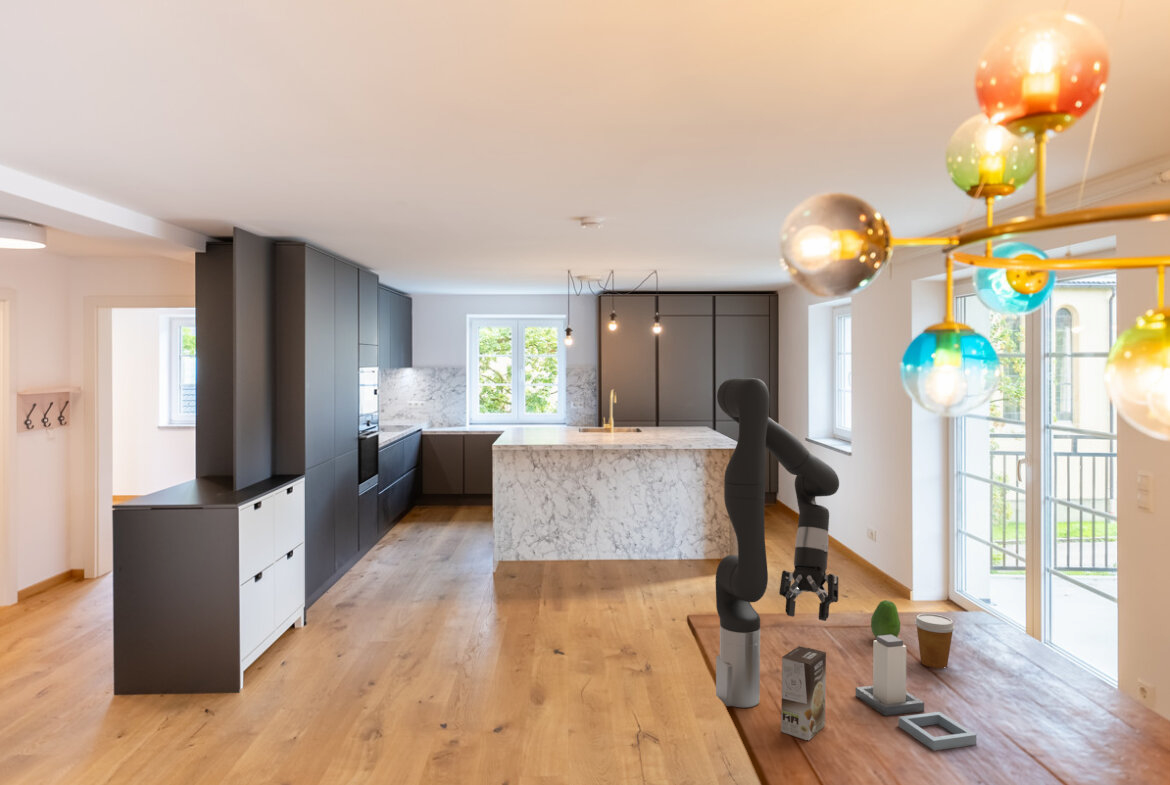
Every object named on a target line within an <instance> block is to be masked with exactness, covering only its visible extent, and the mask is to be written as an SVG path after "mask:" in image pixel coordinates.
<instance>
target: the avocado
mask: <svg viewBox="0 0 1170 785" xmlns="http://www.w3.org/2000/svg"><path fill="white" fill-rule="evenodd" d="M870 619H871V620H870V627H871V632H872V634H873V636H874V637H875V639H876V640H877V636H882V635H893V636H895V637H897V638H899V637H898V636H899V635H900V632H901V620H900V616H899V612H898V608H897V605H896V604H895V603H894V602H893V601H890V600H887V599H886V600H882V601H880V602H879V603H878V604H877V606H876V608H875V609H874V610H873V613H872V615H871V618H870Z"/></svg>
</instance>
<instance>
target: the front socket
mask: <svg viewBox="0 0 1170 785" xmlns="http://www.w3.org/2000/svg"><path fill="white" fill-rule="evenodd" d="M932 725H939V726H941V727H943V728H945V729H946V730H947V731H949V732H951V733H952V734H947V735H946V734H945V735H941V736H933V735H932V734H930V733H929V732H928V731H926V730H924V729H923V728H922V727H925V726H932ZM898 727H899V728H901V730H903V731H905V732H906V733H908V735H911V736H912V737H914V739H917V740H918V741H919V742H921V743H922V744H923V745H925V746H926V747H928V748H929V749H931V750H932V751H941V750H947V749H954V748H955V749H956V748H961V747H967V746H975V745H977V734H976V733H974V732H973V731H971V730H970V729H968V728H967V727H965V726H963V725H962V724H960V723H958V722H956V721H955V720H954V719H952V718H950V717H949V716H947V715H946V714H944V713H942V712H941V711H934V712H927V713H926V712H925V713H918V714H911V715H903V716H898Z"/></svg>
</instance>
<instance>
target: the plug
mask: <svg viewBox="0 0 1170 785" xmlns="http://www.w3.org/2000/svg"><path fill="white" fill-rule="evenodd" d="M872 643H873V644H872V645H873V647H872V648H873V650H872V652H873V654H872V657H873V660H872V686H873V696H874V697H876V698H877V699H879V700H880V701H882V702H883V703H885V704H892V703H900V702H906V691H907V646H906V645H905V644H904V640H902V639H901V638H899V637H895V636H893V635H882V636H877V639H876V640H873V642H872Z"/></svg>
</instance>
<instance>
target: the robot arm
mask: <svg viewBox="0 0 1170 785" xmlns="http://www.w3.org/2000/svg"><path fill="white" fill-rule="evenodd" d="M768 388H769V387H768V386H767V385H766V383H765V382H764V381H763V380H761V379H759V378H757V377H756V378H753V377H738V378H736V377H735V378H730V379H726V380H724V381H723V382H722V383H721V384H720V386H719V387H718V390H717V394H716V396H717V397H716V400H717V404H718V406H719V408H720V410H722V412H723V413H724V414H726V415H727V416H728V417H729V418H731V419H732V420H733V421H734V422H736V423H737V424H738V439H737V443H736V446H735V448H734V451H733V453H732V455H731V456H730V459H729V461H728V463H727V465H726V468H725V472H724V481H723V484H724V486H723V487H724V490H723V498H724V505H725V509H726V512H727V514H728V517H729V520H730V522H731V525H732V527H733V530H734V533H735V536H736V540H737V542H736V543H737V555H736V554H730V555H727V556H724V557H722V559H721V560H720V562H719V563H718V565H717V567H716V572H715V600H716V601H715V603H716V611H717V614H718V617H719V654H718V655H716V657H715V658H716V659H715V663H716V664H715V665H716V666H715V669H716V670H715V696H716V697H718V699H719V700H720V701H721V702H722V703H723V704H724V705H725V706H726V707H736V708H753V707H755V706H757V705H758V704H759V703H760V694H761V693H760V692H761V691H760V690H761V689H760V688H761V687H760V686H761V685H760V684H761V683H760V682H761V681H760V678H761V675H760V673H761V671H760V670H761V669H760V668H761V663H760V662H761V617H760V615H759V613H758V611H756V610H755V608H754V607H753V605H752V604H751V603H756V602H758V601H760V600H761V599H762V598H763V597H764V595H765V593H766V590H767V588H768V580H769V573H768V570H769V569H768V561H767V551H766V536H765V531H766V530H765V528H766V527H765V501H766V500H765V499H766V479H765V478H766V476H765V475H766V474H765V473H766V472H765V470H766V469H765V468H766V464H765V463H766V449H767V451H769V452H770V453H771V454H772V455H773V456H774V458H775V459H776V460H777V461H778V463H780V465H781V466H782V467H783V468H784V469H785V470H786V471H787V472H788V473H789V474H790V475H793V476H795V479H794V489H795V490H794V491H795V494H796V502H797V507H798V511H799V514H798V524H797V532H796V536H795V545H794V547H795V548H794V558H793V566H794V570H793V572H790V571H787V570H785V569H784V570H782V572H781V578H780V583H779V584H780V586H779V592H778V593H779V595H780V596H782V597H784V598H785V600H786V601H785V613H786V616H788V617H793V618H794V617H795V615H796V614H795V613H796V599H797V597H798V596H799V595H800V594H802V593H803V592H805V593H808V592H809V593H813V594H816V595H817V597H818V600H820V602H819V605H818V606H819V608H818V620H819V621H822V622H823V621H824V622H826V621H827V619H828V618H829V616H830V614H829V613H830V604H833V603H838V602H839V576H837V575H835V574H832V573H829V574H827V573H826V571H827V567H828V556H829V554H828V553H829V526H830V511H829V509H828V508H827V507H825V506H823V505H820V504H817V502H816V497H829V496H832V495H834V494H836V493H837V492H838V491H839V488H840V479H839V476H838V474H837V472H836V471H835V470H834V469H833V467H832V466H830V465H829V464H827V462H825V461H823V460H821V459H820V458H819V457H818V456H816V455H814V454H812V453H811V452H810V451H809V450H808V448H806V446H805V445H804V444H803V443H802V442H801V441H800V440H799V438H797V436H795V435H794V433H792V432H790V430H788V429H787V428H785V427H783V425H781V424H780V423H778V422H776V421H774V420H773V419H772V418H771V417H769V415H770V414H769V413H770V392H769V389H768ZM793 580H794V582H793ZM825 583H827V590H826V587H825V586H824V584H825Z"/></svg>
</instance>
